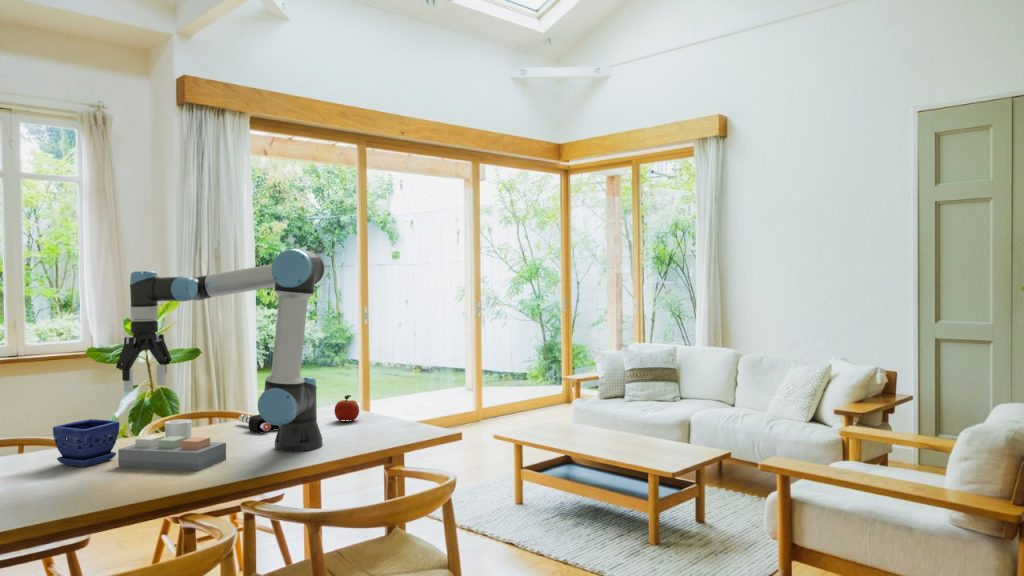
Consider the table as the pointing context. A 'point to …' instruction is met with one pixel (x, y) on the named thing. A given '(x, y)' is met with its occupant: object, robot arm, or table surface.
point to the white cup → (178, 428)
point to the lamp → (257, 423)
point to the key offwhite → (148, 441)
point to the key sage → (171, 442)
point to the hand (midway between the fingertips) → (145, 388)
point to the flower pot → (86, 441)
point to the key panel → (172, 465)
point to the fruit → (346, 409)
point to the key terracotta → (196, 443)
